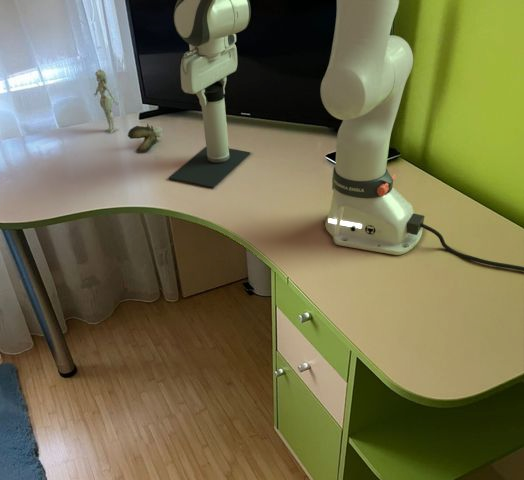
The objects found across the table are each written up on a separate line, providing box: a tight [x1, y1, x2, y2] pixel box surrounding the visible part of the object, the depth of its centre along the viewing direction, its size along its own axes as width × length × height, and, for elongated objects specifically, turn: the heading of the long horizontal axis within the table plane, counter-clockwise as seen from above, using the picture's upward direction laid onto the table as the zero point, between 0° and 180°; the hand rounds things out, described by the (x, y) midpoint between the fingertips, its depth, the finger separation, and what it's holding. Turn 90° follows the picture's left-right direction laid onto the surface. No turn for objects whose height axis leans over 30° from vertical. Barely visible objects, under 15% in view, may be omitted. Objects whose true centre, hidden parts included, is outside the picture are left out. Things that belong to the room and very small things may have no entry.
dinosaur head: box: [127, 123, 163, 154], centre depth 166 cm, size 8×7×9 cm
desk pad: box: [168, 146, 251, 190], centre depth 157 cm, size 14×22×1 cm, turn 154°
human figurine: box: [93, 69, 120, 134], centre depth 171 cm, size 12×4×18 cm, turn 47°
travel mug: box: [201, 81, 230, 163], centre depth 152 cm, size 6×7×20 cm
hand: (212, 99), depth 147 cm, fingers closed on travel mug, 6 cm apart
